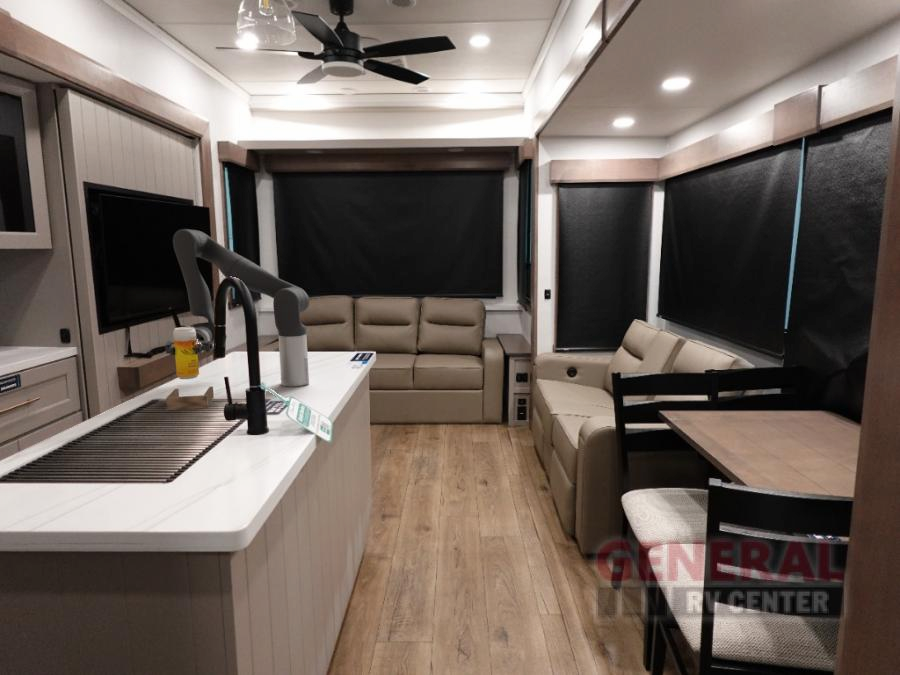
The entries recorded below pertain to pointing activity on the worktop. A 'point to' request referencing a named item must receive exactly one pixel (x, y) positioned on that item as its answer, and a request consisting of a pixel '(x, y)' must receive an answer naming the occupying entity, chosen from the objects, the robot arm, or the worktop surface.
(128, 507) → the worktop surface
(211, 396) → the can holder
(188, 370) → the amber medicine vial
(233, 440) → the worktop surface
